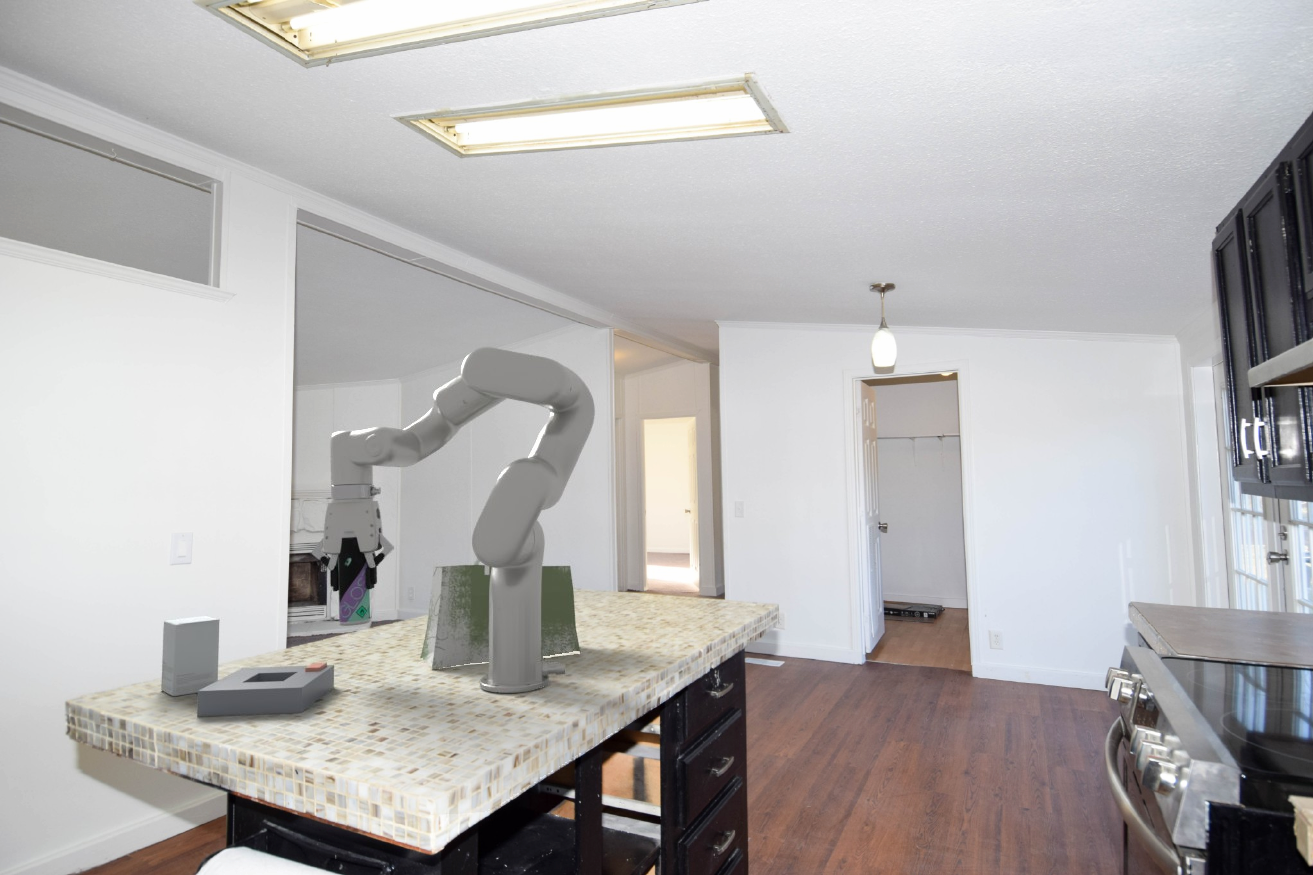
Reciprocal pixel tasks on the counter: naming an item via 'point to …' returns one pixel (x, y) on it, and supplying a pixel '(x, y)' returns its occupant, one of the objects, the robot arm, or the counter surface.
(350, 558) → the spray can
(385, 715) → the counter surface
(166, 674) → the supplement box
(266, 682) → the socket plate
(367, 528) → the robot arm
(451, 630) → the grocery bag
